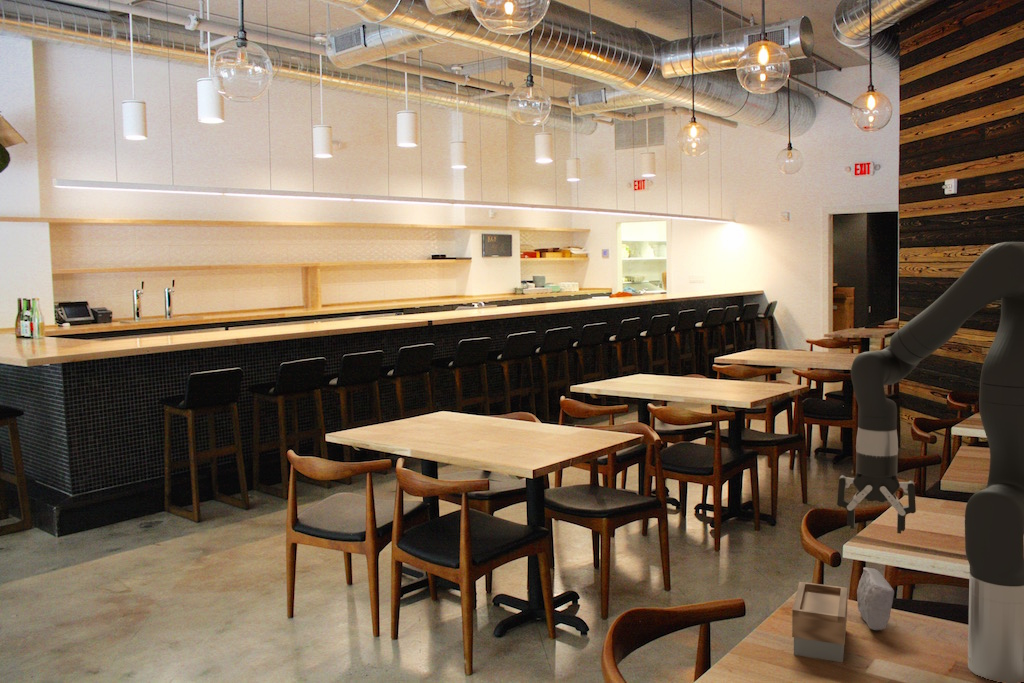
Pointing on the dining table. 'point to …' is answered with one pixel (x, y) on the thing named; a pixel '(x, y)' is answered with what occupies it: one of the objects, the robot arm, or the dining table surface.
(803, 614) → the tan open box
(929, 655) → the dining table surface
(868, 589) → the stone block
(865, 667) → the dining table surface
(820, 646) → the base slab
